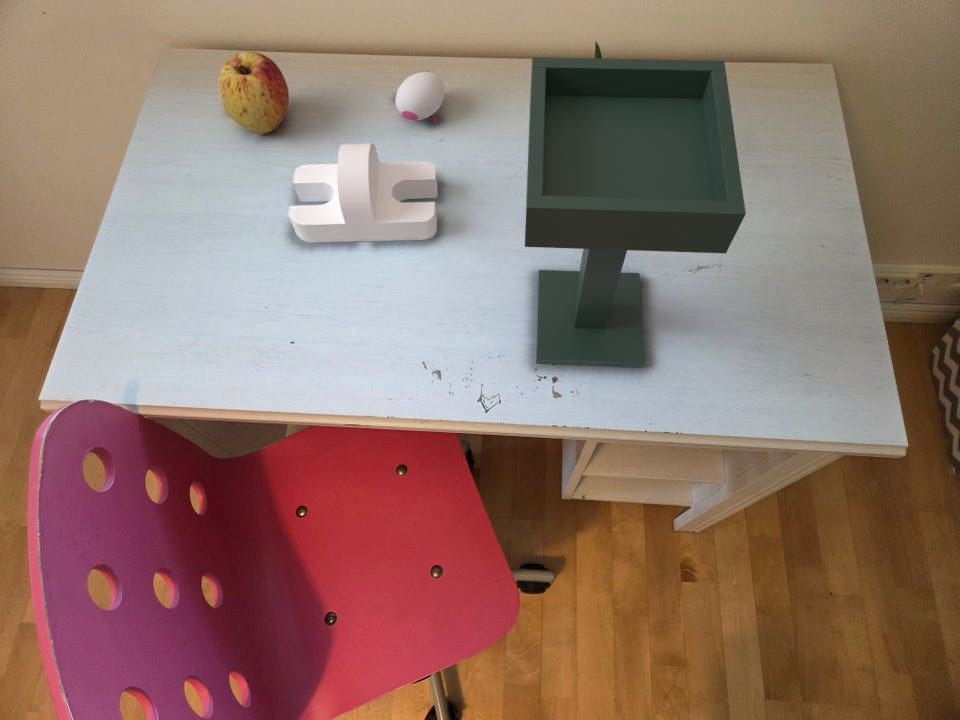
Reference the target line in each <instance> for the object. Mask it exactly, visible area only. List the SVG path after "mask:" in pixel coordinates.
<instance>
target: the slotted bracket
mask: <svg viewBox="0 0 960 720" xmlns="http://www.w3.org/2000/svg"><path fill="white" fill-rule="evenodd" d="M292 185H293V189H294V190H295V193H296V196H297V199H298V201H299V203H307V202H308V203H310V202H311V203H312V202H313V203H315V202H326V203H323V204H309V205H308V204H306V205H289V207H288V213H287V216H288V219H289V220H290V223H291V225H292V227H293V230H294V232H295V234H296V236H297V237H298V238H299V239H300V240H301V241H304V242H306V243H311V244H312V243H313V244H314V243H315V244H316V243H317V244H318V243H348V242H349V243H352V242H353V243H354V242H355V243H357V242H391V241H426V240H429V239H432V238H433V237H435V235H436V234H437V231H438V216H437V209H436V202H435V201H418V202H417V201H416V202H413V201H411V202H403V201H406V200H413V199H414V200H415V199H439V197H438V195H439V193H438V192H439V191H438V189H439V188H438V179H437V170H436V166H435V164H434V163H432V162H431V161H426V160H419V161H418V160H416V161H386V162H385V161H384V162H380V160H379V155H378V151H377V147H376V145H375V143H373V142H368V143H365V142H364V143H362V142H361V143H342V144H340V146H339V149H338V153H337V162H336V163H316V164H314V163H313V164H303V165H299V166H298V167H296V168H295V169H294V171H293V177H292Z"/></svg>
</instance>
